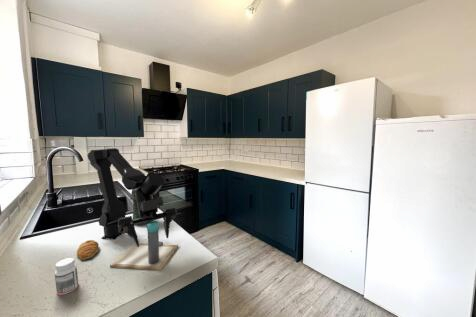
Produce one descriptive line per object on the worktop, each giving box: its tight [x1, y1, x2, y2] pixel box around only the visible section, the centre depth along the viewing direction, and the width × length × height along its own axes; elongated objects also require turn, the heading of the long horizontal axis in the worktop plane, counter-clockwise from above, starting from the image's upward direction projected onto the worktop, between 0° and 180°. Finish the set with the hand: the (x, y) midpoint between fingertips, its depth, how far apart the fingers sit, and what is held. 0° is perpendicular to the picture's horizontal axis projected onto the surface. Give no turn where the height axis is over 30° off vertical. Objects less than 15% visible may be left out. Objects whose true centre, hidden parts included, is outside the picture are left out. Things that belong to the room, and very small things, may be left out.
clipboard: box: [109, 241, 179, 272], centre depth 71 cm, size 18×14×2 cm
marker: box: [146, 220, 160, 264], centre depth 66 cm, size 4×4×14 cm
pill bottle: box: [54, 257, 79, 296], centre depth 55 cm, size 5×5×8 cm
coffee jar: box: [130, 188, 152, 226], centre depth 100 cm, size 10×8×19 cm
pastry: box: [76, 239, 100, 261], centre depth 73 cm, size 9×7×4 cm
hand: (153, 242), depth 65 cm, fingers open, 9 cm apart
